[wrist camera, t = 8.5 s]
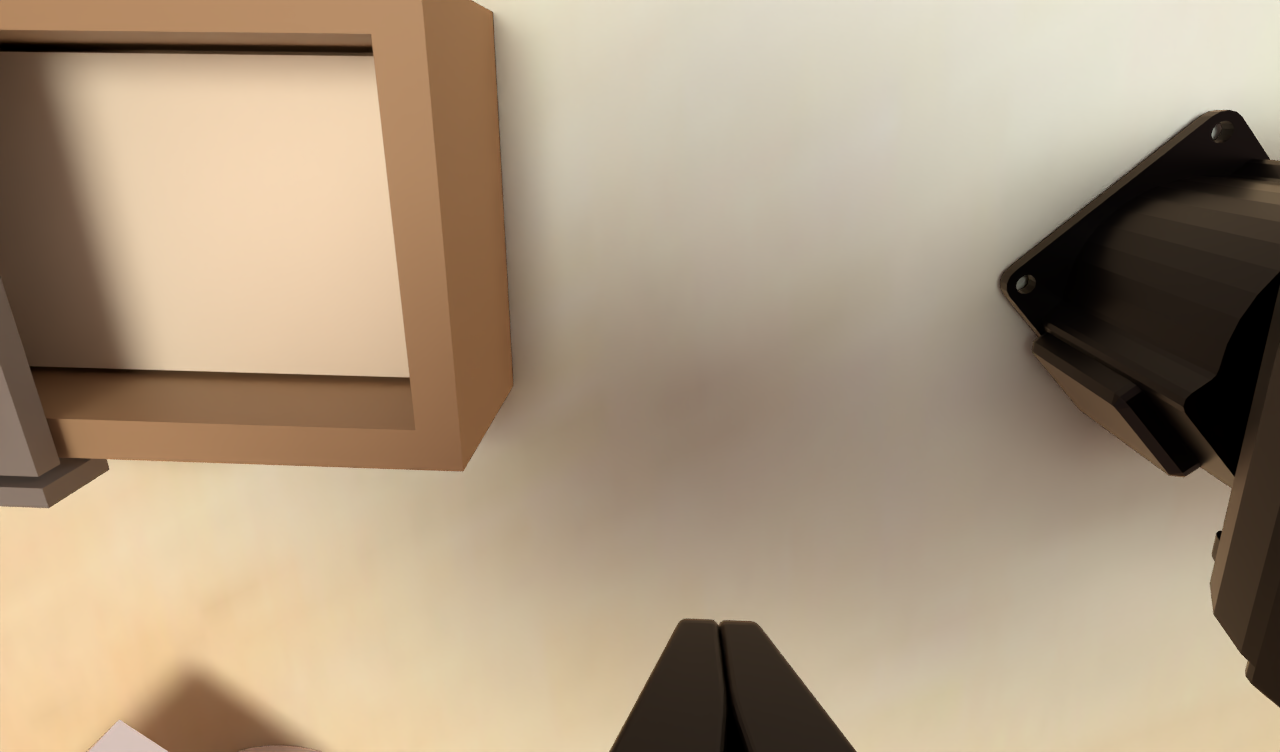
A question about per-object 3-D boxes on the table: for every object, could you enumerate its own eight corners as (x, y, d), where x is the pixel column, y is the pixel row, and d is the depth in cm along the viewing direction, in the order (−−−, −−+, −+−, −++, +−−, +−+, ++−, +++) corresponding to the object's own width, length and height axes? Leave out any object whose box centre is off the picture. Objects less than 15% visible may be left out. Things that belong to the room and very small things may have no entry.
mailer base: (492, 11, 17) (419, -29, 12) (513, 385, 21) (463, 471, 16) (-87, 6, 18) (-381, -35, 13) (30, 371, 21) (-164, 449, 16)
